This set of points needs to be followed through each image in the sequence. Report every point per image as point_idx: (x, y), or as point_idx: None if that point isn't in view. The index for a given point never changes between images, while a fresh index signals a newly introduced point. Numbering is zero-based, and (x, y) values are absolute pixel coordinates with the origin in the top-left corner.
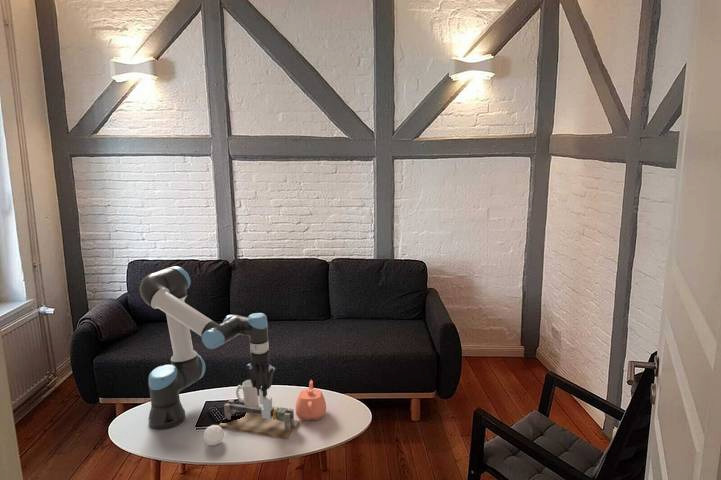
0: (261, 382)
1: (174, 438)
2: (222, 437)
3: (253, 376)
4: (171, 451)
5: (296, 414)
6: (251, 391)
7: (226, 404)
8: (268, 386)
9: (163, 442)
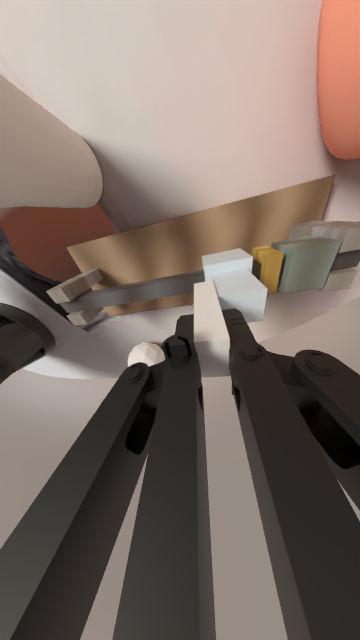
0: (196, 395)
1: (90, 356)
2: (163, 356)
3: (88, 570)
4: (118, 373)
5: (329, 148)
6: (28, 184)
7: (75, 320)
8: (334, 426)
9: (90, 365)
